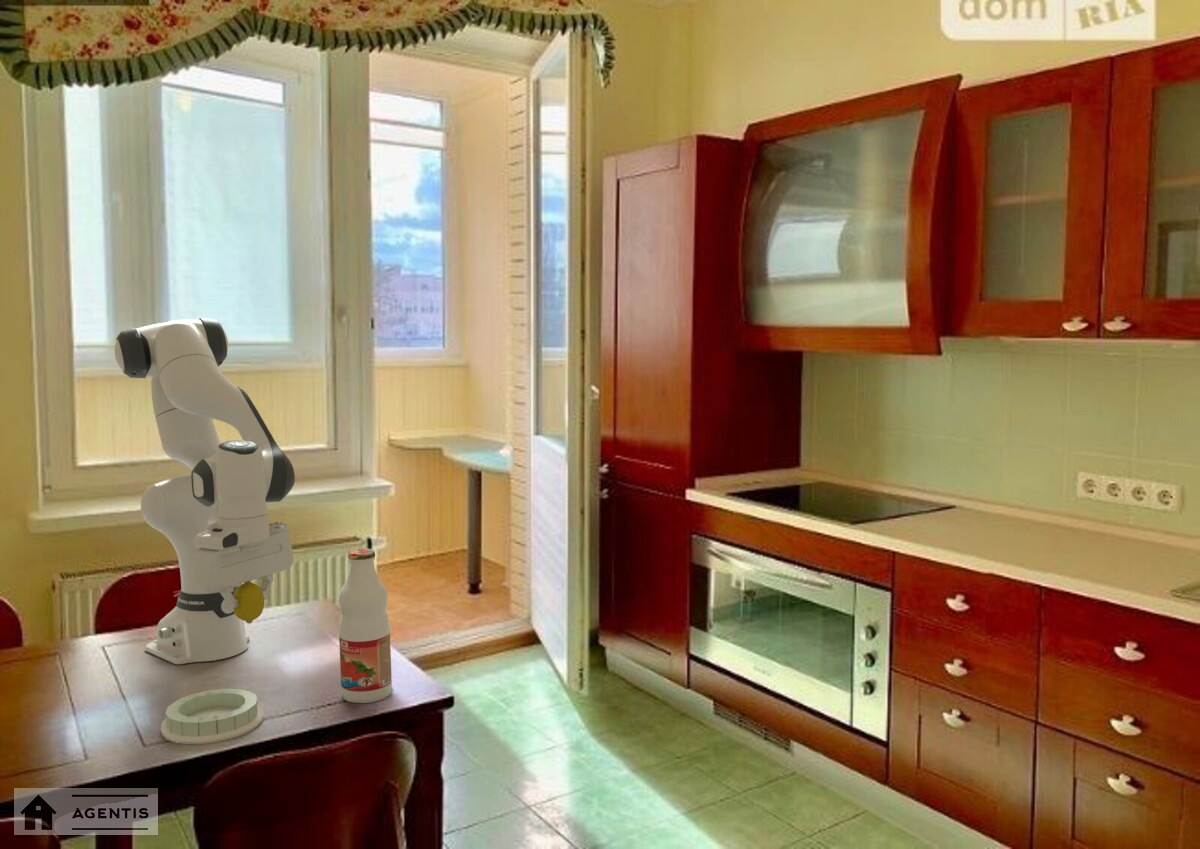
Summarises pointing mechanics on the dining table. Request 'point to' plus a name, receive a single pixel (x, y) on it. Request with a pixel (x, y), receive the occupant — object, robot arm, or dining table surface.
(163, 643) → the robot arm
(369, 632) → the fruit juice
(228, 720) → the ceramic dish
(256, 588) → the lemon
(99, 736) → the dining table surface
